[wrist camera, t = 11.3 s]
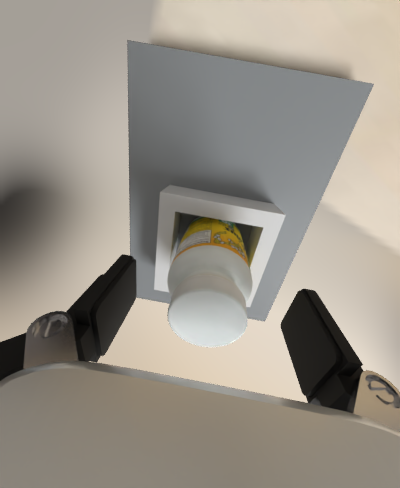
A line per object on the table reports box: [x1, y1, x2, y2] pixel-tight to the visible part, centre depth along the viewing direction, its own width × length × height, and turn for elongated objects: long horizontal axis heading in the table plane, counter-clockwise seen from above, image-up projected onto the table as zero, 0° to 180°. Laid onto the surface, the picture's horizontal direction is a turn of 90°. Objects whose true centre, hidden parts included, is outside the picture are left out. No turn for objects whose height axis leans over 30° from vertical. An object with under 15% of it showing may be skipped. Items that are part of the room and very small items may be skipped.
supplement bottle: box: [167, 216, 253, 347], centre depth 14 cm, size 5×5×10 cm
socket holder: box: [127, 40, 374, 321], centre depth 16 cm, size 22×16×4 cm
